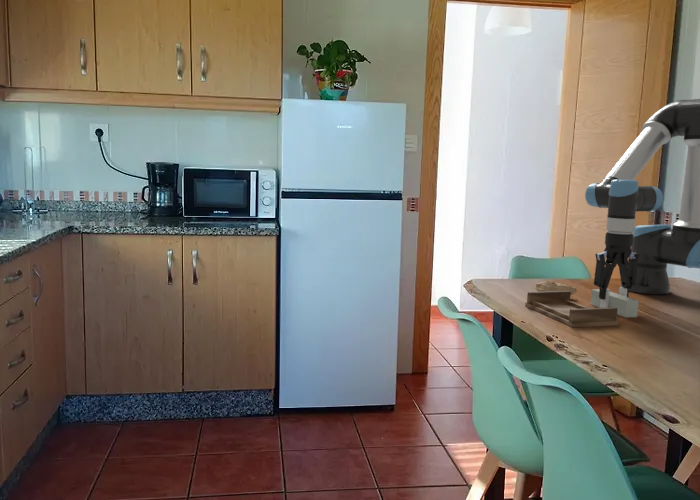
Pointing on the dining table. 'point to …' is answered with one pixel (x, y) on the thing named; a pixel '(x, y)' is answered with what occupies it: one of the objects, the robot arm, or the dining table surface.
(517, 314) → the dining table surface
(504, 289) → the dining table surface
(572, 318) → the cradle rack
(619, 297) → the greenware bar
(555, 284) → the pottery oil lamp
